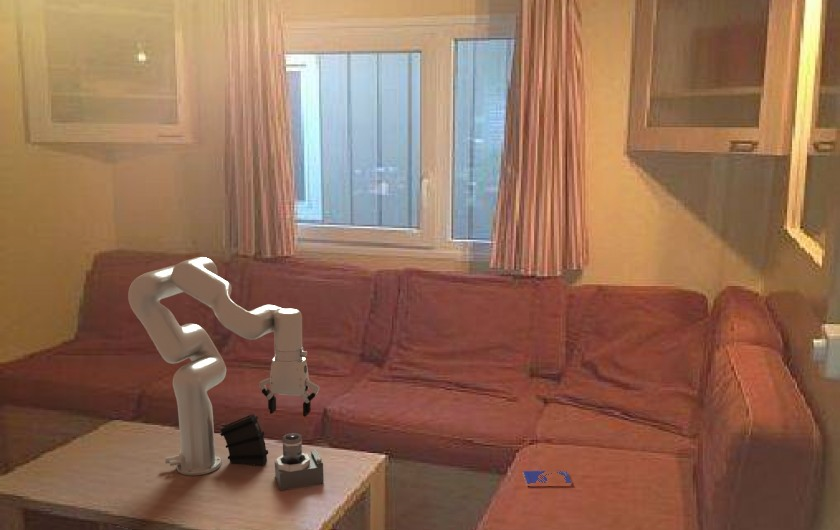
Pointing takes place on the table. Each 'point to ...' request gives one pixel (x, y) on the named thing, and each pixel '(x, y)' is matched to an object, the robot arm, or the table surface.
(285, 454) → the lens
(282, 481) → the camera body
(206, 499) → the table surface
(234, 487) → the table surface
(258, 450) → the black device
